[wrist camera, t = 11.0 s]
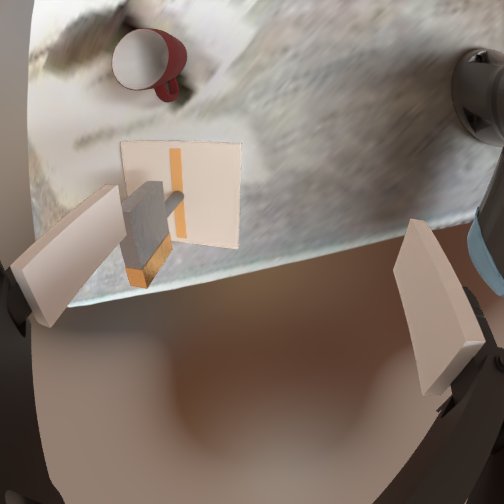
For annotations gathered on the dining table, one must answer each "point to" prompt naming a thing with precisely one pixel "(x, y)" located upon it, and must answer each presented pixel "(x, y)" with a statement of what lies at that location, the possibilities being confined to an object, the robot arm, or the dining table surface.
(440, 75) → the dining table surface
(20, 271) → the robot arm
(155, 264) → the grey slab
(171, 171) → the post base
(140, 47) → the mug
